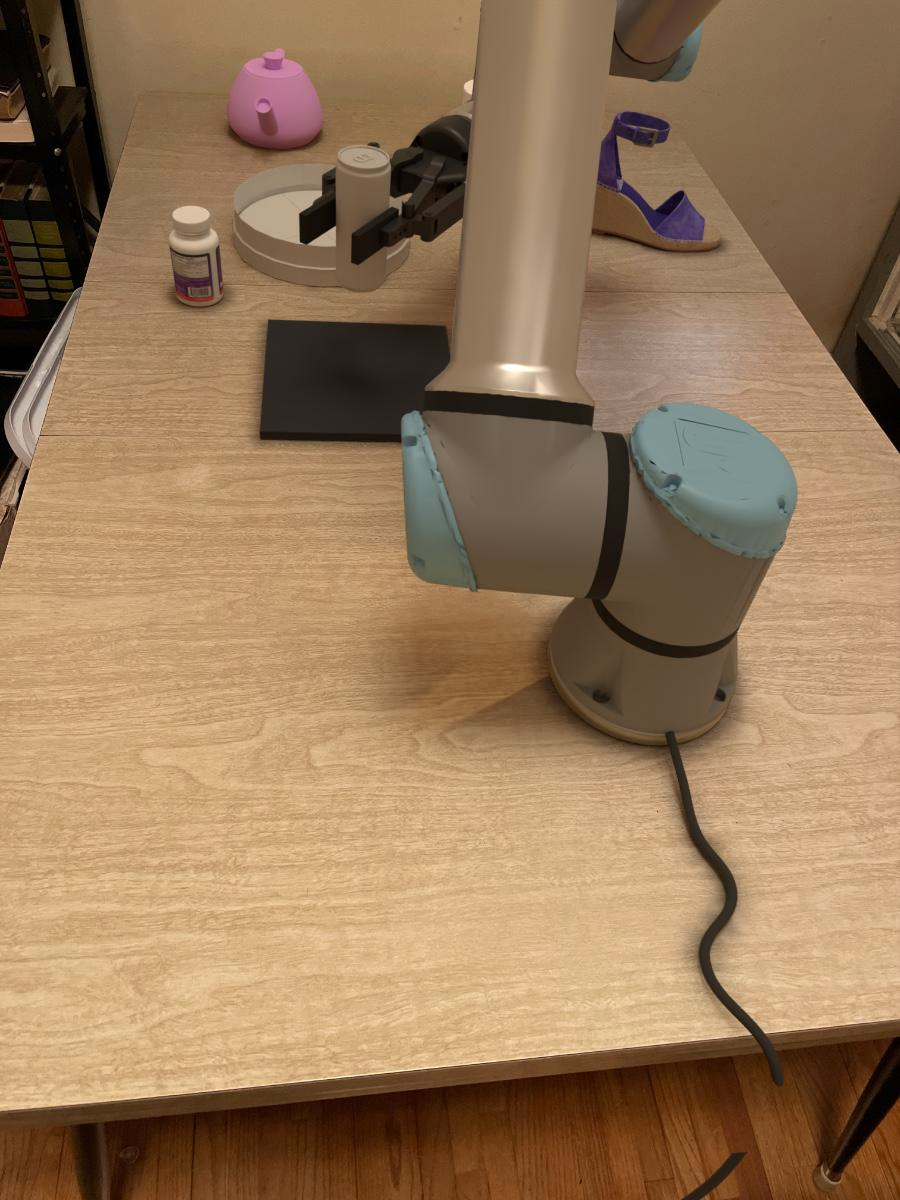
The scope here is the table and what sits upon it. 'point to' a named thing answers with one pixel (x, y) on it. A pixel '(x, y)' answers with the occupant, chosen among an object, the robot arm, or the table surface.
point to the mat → (347, 378)
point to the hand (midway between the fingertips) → (328, 239)
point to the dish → (292, 226)
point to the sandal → (629, 210)
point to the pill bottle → (195, 257)
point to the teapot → (274, 103)
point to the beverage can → (360, 212)
